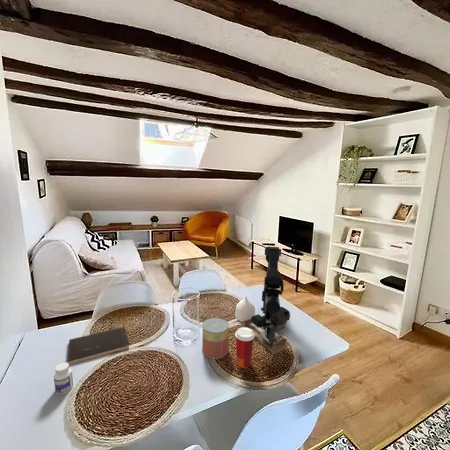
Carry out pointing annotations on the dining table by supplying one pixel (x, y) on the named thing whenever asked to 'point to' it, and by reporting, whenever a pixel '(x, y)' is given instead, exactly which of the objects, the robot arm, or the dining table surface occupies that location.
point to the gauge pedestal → (278, 326)
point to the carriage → (270, 334)
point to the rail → (275, 345)
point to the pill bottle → (63, 378)
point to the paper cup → (244, 346)
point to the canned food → (215, 338)
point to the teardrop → (244, 310)
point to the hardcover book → (97, 345)
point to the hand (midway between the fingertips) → (269, 333)
